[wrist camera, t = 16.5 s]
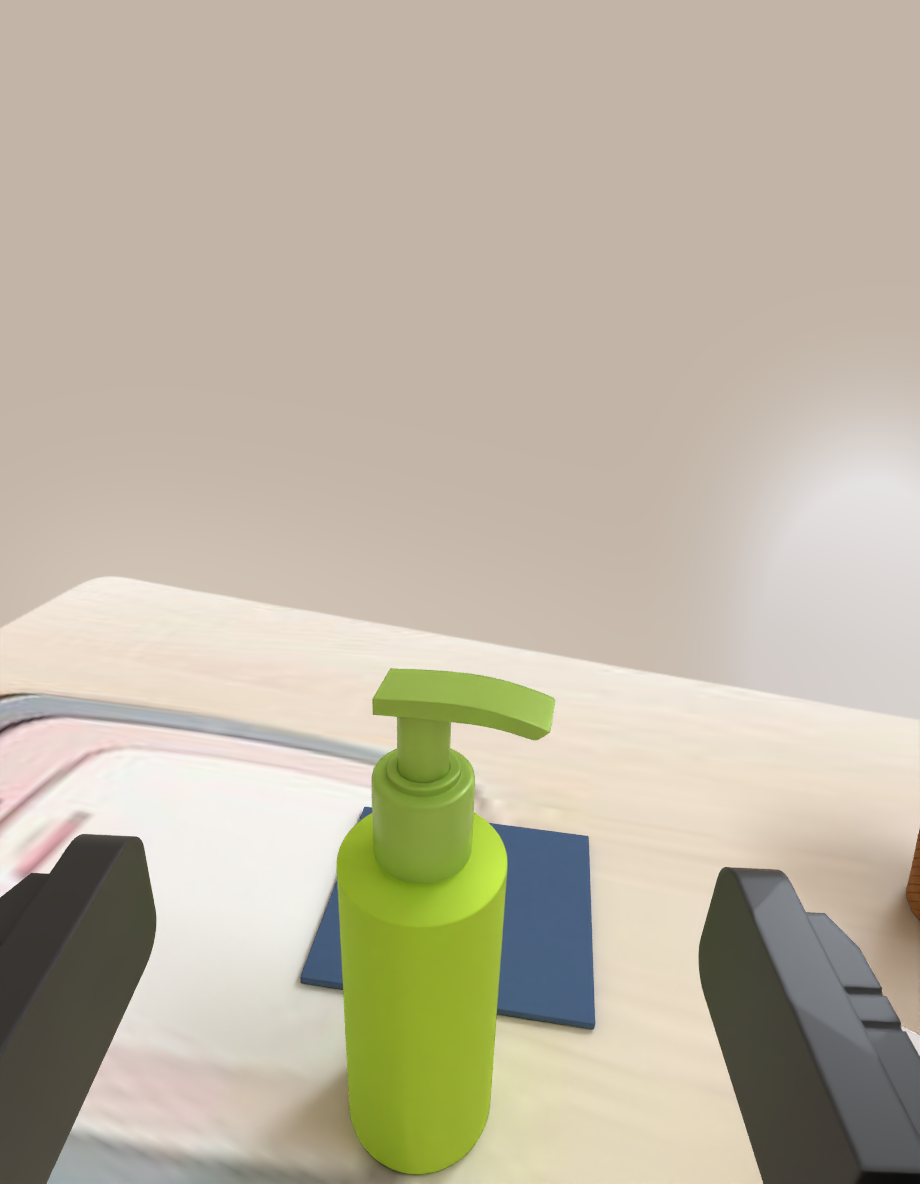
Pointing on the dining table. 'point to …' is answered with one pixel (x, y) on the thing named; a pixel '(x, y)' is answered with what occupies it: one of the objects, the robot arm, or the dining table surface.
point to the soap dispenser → (426, 923)
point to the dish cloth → (518, 930)
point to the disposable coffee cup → (915, 882)
